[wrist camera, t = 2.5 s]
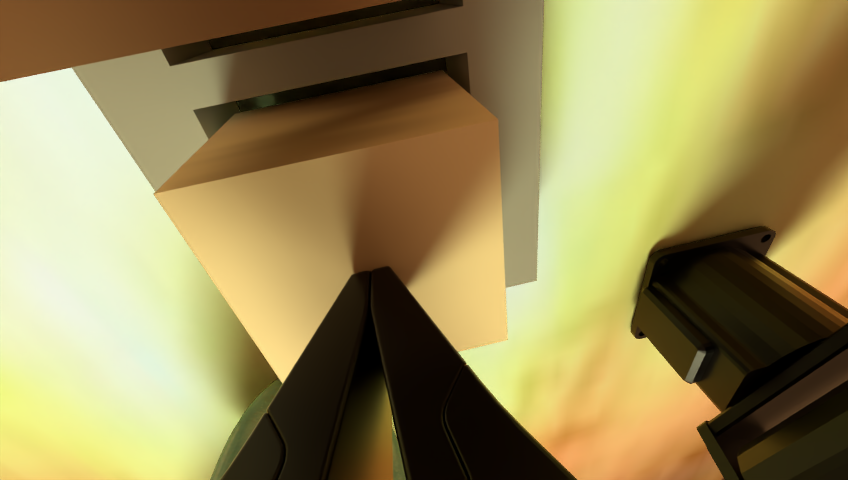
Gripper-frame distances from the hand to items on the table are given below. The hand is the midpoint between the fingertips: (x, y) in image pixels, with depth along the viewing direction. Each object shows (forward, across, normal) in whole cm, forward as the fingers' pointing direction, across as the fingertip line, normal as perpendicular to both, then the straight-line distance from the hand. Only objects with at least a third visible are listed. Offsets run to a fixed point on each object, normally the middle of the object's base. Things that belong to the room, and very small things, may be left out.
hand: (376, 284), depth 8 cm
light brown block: (+5, 0, 0) cm, 5 cm away
